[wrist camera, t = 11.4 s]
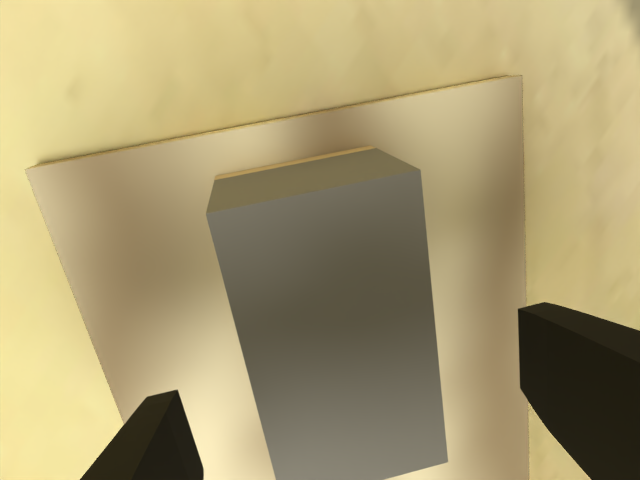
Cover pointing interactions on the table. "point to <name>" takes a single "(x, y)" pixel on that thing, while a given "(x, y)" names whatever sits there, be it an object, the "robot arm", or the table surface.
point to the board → (209, 290)
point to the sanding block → (334, 312)
